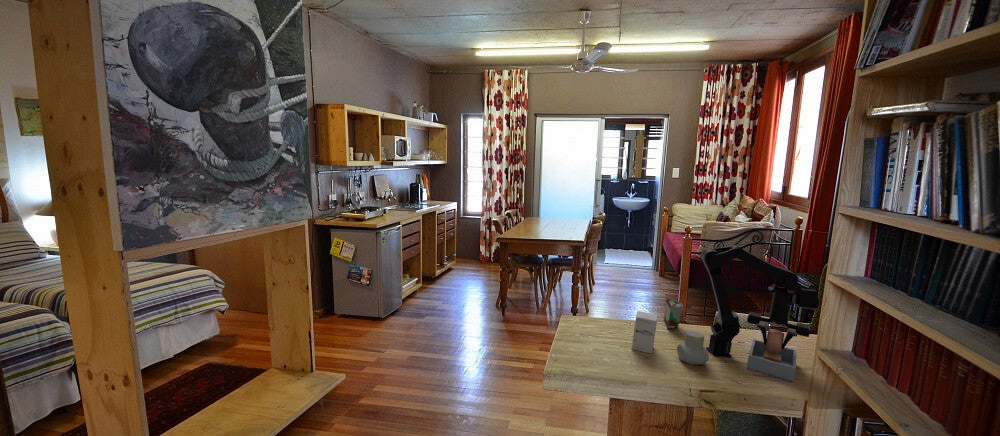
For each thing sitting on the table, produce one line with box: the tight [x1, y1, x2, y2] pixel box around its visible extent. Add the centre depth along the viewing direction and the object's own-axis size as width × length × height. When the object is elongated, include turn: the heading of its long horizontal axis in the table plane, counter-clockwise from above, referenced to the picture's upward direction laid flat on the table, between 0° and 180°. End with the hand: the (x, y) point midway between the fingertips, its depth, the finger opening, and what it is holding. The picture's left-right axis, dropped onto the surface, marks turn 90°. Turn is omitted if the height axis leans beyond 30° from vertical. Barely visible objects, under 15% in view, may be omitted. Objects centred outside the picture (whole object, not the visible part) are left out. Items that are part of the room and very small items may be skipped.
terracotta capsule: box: [765, 328, 785, 354], centre depth 160 cm, size 5×5×7 cm
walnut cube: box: [763, 351, 782, 363], centre depth 154 cm, size 5×5×5 cm
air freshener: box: [676, 330, 710, 366], centre depth 156 cm, size 11×8×10 cm
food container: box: [663, 297, 685, 331], centre depth 188 cm, size 12×6×10 cm, turn 168°
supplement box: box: [631, 310, 659, 354], centre depth 164 cm, size 7×7×13 cm
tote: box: [746, 338, 797, 383], centre depth 157 cm, size 18×14×5 cm
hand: (773, 346), depth 161 cm, fingers closed on terracotta capsule, 5 cm apart
